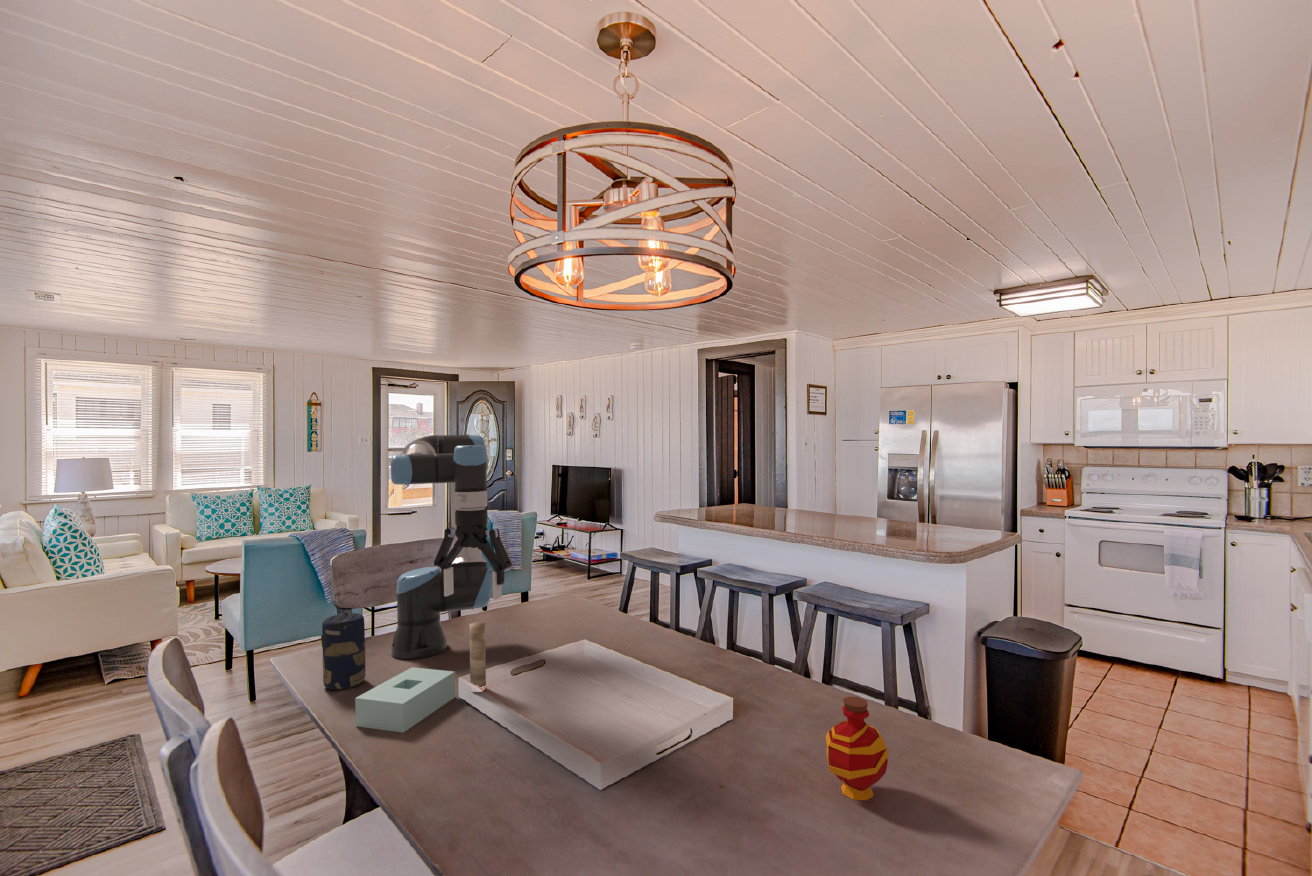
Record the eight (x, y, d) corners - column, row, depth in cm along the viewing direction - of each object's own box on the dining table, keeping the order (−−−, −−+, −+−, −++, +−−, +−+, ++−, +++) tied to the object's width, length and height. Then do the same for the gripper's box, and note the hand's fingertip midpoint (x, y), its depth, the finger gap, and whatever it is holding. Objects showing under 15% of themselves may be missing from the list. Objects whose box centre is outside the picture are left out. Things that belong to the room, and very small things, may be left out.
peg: (475, 686, 149) (474, 621, 149) (488, 687, 148) (487, 622, 148) (467, 692, 145) (466, 625, 145) (480, 693, 144) (479, 626, 144)
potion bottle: (883, 817, 94) (881, 720, 94) (817, 797, 99) (815, 706, 100) (896, 784, 103) (894, 696, 103) (835, 768, 108) (833, 684, 108)
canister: (373, 677, 156) (372, 607, 156) (351, 692, 146) (350, 618, 146) (338, 677, 156) (337, 607, 157) (314, 692, 147) (313, 618, 147)
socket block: (412, 692, 146) (411, 667, 146) (455, 697, 142) (454, 671, 142) (355, 726, 128) (355, 698, 128) (403, 732, 125) (402, 703, 125)
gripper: (417, 509, 146) (419, 597, 146) (508, 511, 139) (510, 603, 139) (437, 506, 153) (439, 590, 153) (524, 507, 146) (526, 595, 146)
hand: (472, 596), depth 146 cm, fingers open, 13 cm apart
